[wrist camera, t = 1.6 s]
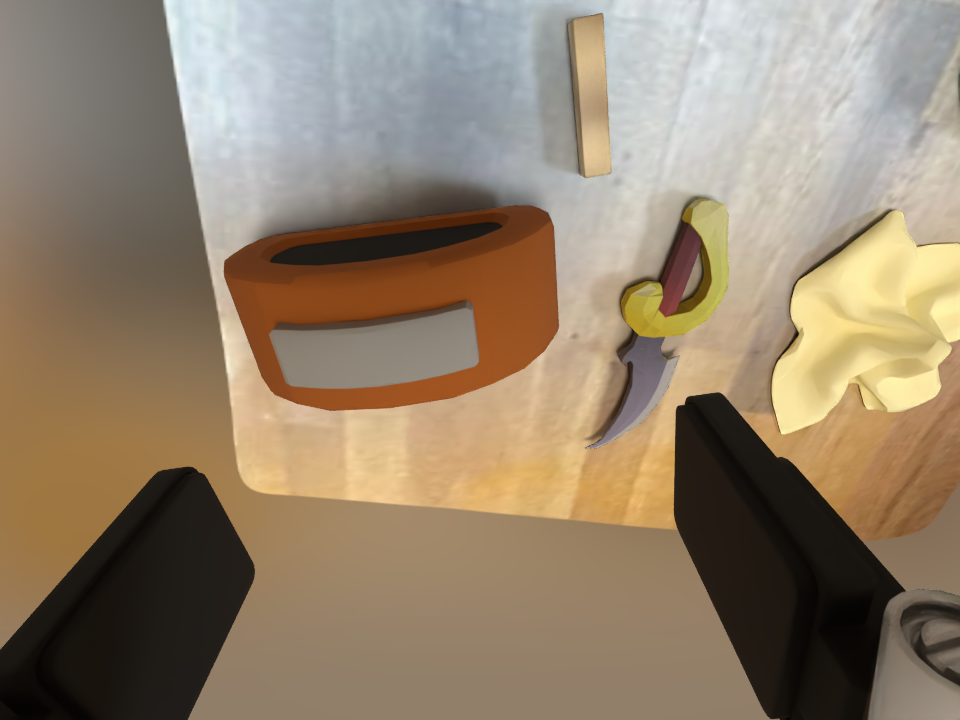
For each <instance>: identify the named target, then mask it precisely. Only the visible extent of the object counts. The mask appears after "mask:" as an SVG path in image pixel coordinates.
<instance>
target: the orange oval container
mask: <svg viewBox="0 0 960 720" xmlns="http://www.w3.org/2000/svg"><path fill="white" fill-rule="evenodd" d="M224 277H225V280H226V283H227V285H228V288H229V291H230V293H231V296H232V299H233V301H234V304H235V307H236V309H237V312H238V315H239V317H240V320H241V323H242V325H243V328H244V331H245V333H246V336H247V339H248V341H249V344H250V347H251V349H252V352H253V354H254V357H255V360H256V362H257V365H258V368H259V370H260V373H261V376H262V378H263V379H264V381H265V382H266V384H267V385H268V387H269V388H270V390H271V391H272V392H273V393H274V394H275V395H277V396H279V397H282V398H284V399H287V400H289V401H292V402H294V403H297V404H301V405H305V406H310V407H315V408H320V409H325V410H330V411H335V410H357V409H380V408H394V407H400V406H406V405H412V404H418V403H424V402H431V401H437V400H443V399H449V398H454V397H457V396H460V395H462V394H465V393H468V392H471V391H473V390H476V389H479V388H482V387H484V386H487V385H490V384H493V383H495V382H497V381H499V380H501V379H503V378H505V377H507V376H509V375H511V374H514V373H516V372H518V371H520V370H522V369H524V368H525V367H526V366H528V365H529V364H530V363H531V362H532V361H533V360H534V359H536V358H537V357H538V356H539V355H540V354H541V353H543V352H544V351H545V349H546V348H547V346H548V345H549V343H550V342H551V340H552V339H553V338H554V336H555V335H556V333H557V331H558V328H559V319H558V299H557V280H556V260H555V240H554V226H553V223H552V221H551V218H550V216H549V214H548V213H547V212H545V211H544V210H542V209H540V208H537V207H534V206H518V205H515V206H507V207H499V208H491V209H483V210H475V211H467V212H459V213H451V214H443V215H436V216H428V217H420V218H412V219H404V220H396V221H388V222H380V223H372V224H364V225H356V226H348V227H340V228H332V229H324V230H316V231H308V232H300V233H292V234H284V235H277V236H273V237H268V238H264V239H260V240H258V241H256V242H254V243H252V244H249V245H247V246H245V247H244V248H242V249H241V250H239V251H237V252H236V253H234V254H233V255H231V256H230V257H229V258H227V259H226V260H225V263H224Z"/></svg>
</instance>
